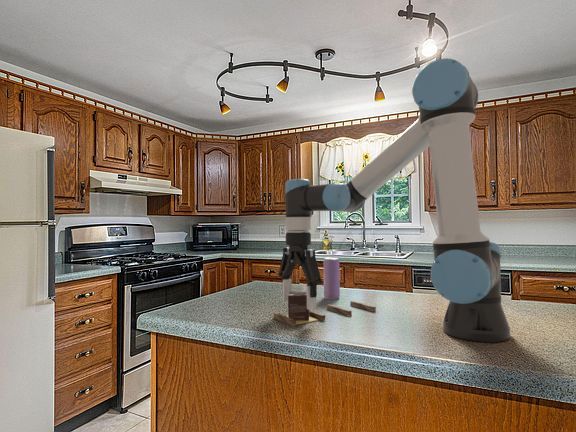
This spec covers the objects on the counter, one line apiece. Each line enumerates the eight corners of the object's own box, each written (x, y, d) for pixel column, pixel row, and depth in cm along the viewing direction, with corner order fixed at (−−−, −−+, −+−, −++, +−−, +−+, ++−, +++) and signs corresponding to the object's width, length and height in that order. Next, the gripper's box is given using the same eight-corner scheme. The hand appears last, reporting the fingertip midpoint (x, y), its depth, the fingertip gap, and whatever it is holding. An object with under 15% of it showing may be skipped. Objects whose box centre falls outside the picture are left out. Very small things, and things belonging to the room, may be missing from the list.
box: (309, 315, 111) (309, 291, 111) (309, 321, 105) (308, 295, 105) (289, 315, 112) (289, 291, 112) (287, 320, 106) (287, 295, 106)
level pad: (318, 320, 107) (318, 319, 107) (296, 324, 103) (296, 323, 103) (301, 314, 114) (301, 313, 114) (280, 317, 110) (280, 316, 110)
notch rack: (375, 311, 117) (375, 306, 117) (293, 326, 101) (292, 320, 101) (352, 305, 126) (352, 300, 126) (273, 317, 110) (273, 312, 110)
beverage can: (340, 299, 136) (340, 258, 136) (324, 299, 136) (324, 259, 136) (338, 296, 142) (338, 257, 142) (323, 296, 142) (322, 257, 142)
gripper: (334, 232, 100) (334, 310, 100) (287, 231, 122) (288, 296, 121) (311, 232, 97) (312, 314, 96) (267, 231, 118) (268, 298, 117)
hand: (298, 304), depth 109 cm, fingers open, 12 cm apart
